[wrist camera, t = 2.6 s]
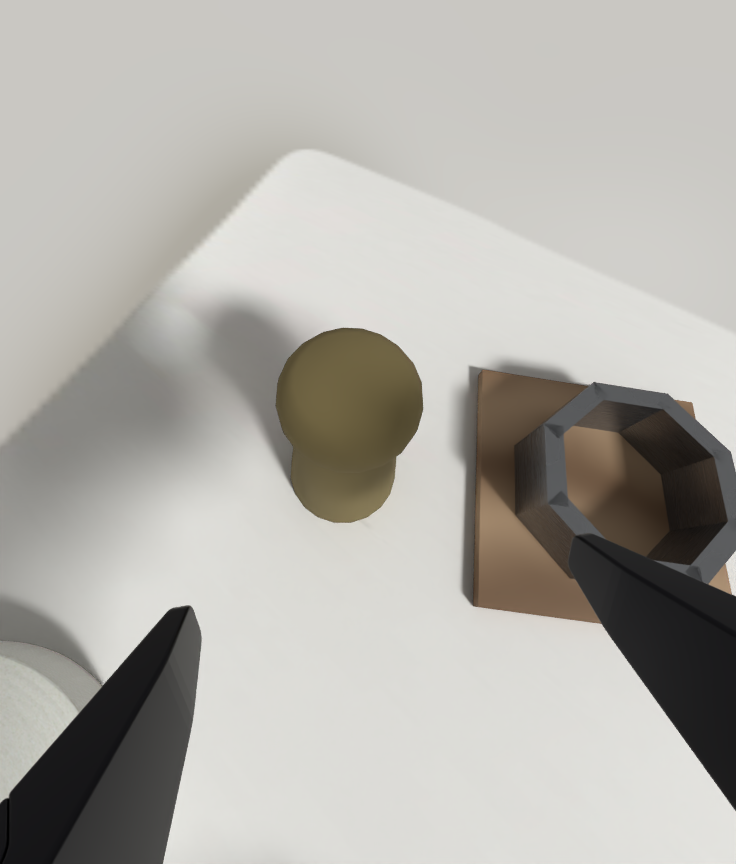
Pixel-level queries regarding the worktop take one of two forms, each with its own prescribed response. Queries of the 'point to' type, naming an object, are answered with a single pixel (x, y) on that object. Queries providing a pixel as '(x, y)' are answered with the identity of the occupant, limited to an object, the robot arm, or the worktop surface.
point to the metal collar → (663, 448)
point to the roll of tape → (36, 705)
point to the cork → (347, 420)
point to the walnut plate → (587, 489)
